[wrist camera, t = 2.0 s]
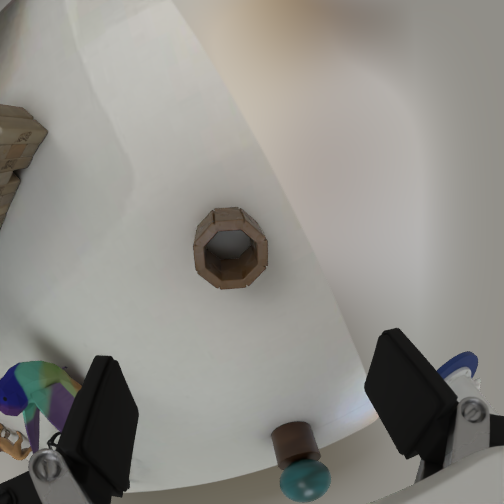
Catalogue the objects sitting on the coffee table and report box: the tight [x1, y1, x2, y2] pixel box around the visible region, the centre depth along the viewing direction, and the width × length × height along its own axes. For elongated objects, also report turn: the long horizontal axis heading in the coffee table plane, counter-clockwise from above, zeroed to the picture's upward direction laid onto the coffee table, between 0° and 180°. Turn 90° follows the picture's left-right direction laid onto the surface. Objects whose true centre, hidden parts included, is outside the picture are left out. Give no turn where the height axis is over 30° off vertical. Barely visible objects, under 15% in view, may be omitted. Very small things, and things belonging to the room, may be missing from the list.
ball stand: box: [272, 422, 331, 502], centre depth 32 cm, size 7×7×13 cm
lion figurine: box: [0, 424, 32, 460], centre depth 30 cm, size 15×5×9 cm, turn 92°
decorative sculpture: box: [0, 361, 82, 454], centre depth 21 cm, size 17×18×15 cm
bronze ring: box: [193, 207, 268, 289], centre depth 24 cm, size 6×6×4 cm
